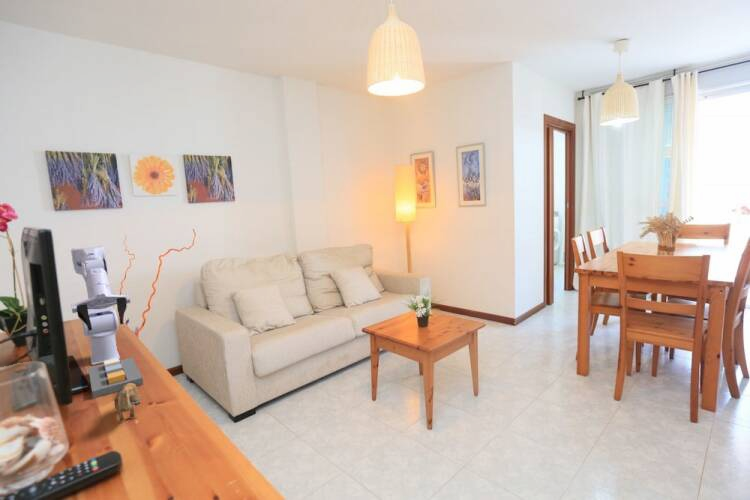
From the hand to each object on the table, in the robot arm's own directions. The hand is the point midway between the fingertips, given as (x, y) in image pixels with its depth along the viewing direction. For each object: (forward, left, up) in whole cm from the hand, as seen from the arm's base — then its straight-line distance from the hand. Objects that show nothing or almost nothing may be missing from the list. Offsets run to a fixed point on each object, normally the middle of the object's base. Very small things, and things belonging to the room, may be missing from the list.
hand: (106, 325), depth 114 cm
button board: (-2, +1, -18) cm, 18 cm away
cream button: (-9, +1, -16) cm, 19 cm away
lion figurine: (+25, +2, -18) cm, 31 cm away
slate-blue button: (-2, +1, -16) cm, 17 cm away
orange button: (+4, +1, -16) cm, 17 cm away
